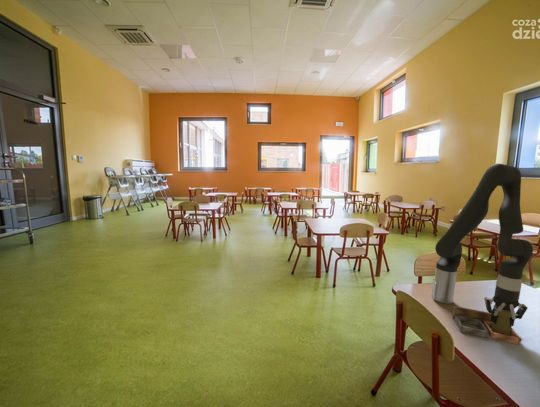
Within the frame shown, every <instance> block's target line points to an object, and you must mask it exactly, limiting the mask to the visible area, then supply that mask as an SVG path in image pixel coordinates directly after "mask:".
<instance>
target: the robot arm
mask: <svg viewBox="0 0 540 407" xmlns="http://www.w3.org/2000/svg"><path fill="white" fill-rule="evenodd" d="M498 186H499V187H501V189H502V191H503V199H502V202H501V205H500V206H499V210H498V223H499V229H500V230H499V234H498V240H497V244H496V248H497V251H498V252H499V254H501V255H502V256H505V257H511V258H510V259H506V260H502V261H501V262H500V264H499V269H498V270H499V271H498V275H497V277H496V281H495V289H494V294H493V297H492V298H491V297H490V298H488V297H486V296H485V297H483V298H484V303H485V308H486V312H488V313H491V321H492V322H493V323H494V324H496V322H497V315H498V312H500V311H501V310H502V309H504V310H508V311H510V312H511V314H512V317H511V318H510V327H513V326H515V320H516V319H518V320H521V319H522V318H523V317H524V315H525V313H526V312H527V310H528V307H527V306H526V304H524V303H520V301H519V300H520V296H521V290H522V284H523V283H522V282H523V281H522V278H523V274H524V269H525V267H526V265H527V264H528V262H529V261H530V259H531V257H532V255H533V254H534V247H533V245H532V243H531V242H530V241H529V240H525V239H517V238H516V239H515V238H513V235H516V234H518V235H519V234H521V233H524V223H523V218H522V212H521V192H522V191H521V189H522V188H521V187H522V173H521V171H520V169H519V168H517V167H516V166H513V165H510V164H509V165H508V164H503V163H494V164H492V165H490V166H489V167H488V168H487V169H486V170H485V172H484V174H483V175H482V177H481V179H480V180H479V182H478V185H477V186H476V188H475V190H474V191H473V192H472V195H471V196H470V197H469V199H468V200H467V202H466V203H465V205H464V206H463V207H462V209H461V211H460V212H459V213H458V215H457V216H456V218H455V219H454V221H453V222H452V224H451V225H450V226H449V228H448V229H447V231H446V232H445V234H443V235H442V237H441V238H439V240H438V241H437V242H436V245H435V246H434V247H435V253H436V255H437V256H439V259H438V260H437V261H436V263H435V264H436V266H435V273H434V279H433V281H432V287H431V297H432V300H433V301H434V302H435V301H436V302H439V303H441V304H445V305H446V304H447V305H451V304H453V303H454V295H455V288H456V282H457V274H458V269H459V266H460V265H461V260H462V254H463V246H462V243H461V242H462V240H464V238H465V237H466V236H468V235H469V234H470V233H472V232H473V231H474V230H476V228H477V227H478V226H479V225H480V224H481V223H482V222H483V221H484V219H485V218H486V216H487V215H488V212H489V207H490V206H489V205H490V198H491V196H492V194H493V192H494V191H495V190H496V188H498ZM493 302H494V305H493V308H492V304H493ZM497 307H498V308H497ZM516 308H517V309H516ZM515 309H516V312H515Z"/></svg>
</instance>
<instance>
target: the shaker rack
mask: <svg viewBox="0 0 540 407" xmlns="http://www.w3.org/2000/svg"><path fill="white" fill-rule="evenodd" d="M451 318H452V320H454V322H455V324H456V327H458V330H459V332H460V333H464V334H468V335H473V336H476V337H477V336H478V337H482V338H483V337H484V338H487V339H489V338H490V339H492V340H497V341H501V342H506V343H510V344H515V345H519V346H520V345H521V342H522V338H521V337H520V336H519V335H518V333H517V332H516V331H515V330H514V328H512V327H513V326H512V327H510V336H509V335H504V334H499V333H494V332H493V331H492V330H491V329H492V326H493V322H492V321H491V313H489V312H488V311H483V310H477V309H472V308H468V307H467V308H466V307H461V306H456V305H454V306H453V311H452V317H451ZM463 323H464V324H469V325H473V326H478V328H475V327H470V326H465V325H463Z"/></svg>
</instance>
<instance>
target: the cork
mask: <svg viewBox="0 0 540 407" xmlns="http://www.w3.org/2000/svg"><path fill="white" fill-rule="evenodd" d="M497 308H498V307H497ZM511 317H512V314H511V312H510V311H508V310H504V309H502V310H501V311H500V312H498V315H497V322H496V324H494V323H493V326H492V328H491V330H492V331H493V332H494V333H499V334H504V335H509V336H511V335H510V318H511Z"/></svg>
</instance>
